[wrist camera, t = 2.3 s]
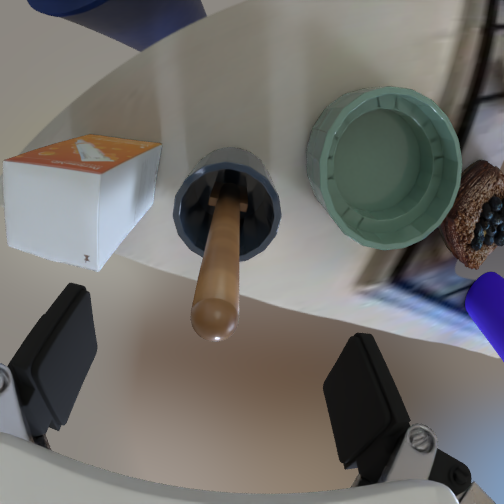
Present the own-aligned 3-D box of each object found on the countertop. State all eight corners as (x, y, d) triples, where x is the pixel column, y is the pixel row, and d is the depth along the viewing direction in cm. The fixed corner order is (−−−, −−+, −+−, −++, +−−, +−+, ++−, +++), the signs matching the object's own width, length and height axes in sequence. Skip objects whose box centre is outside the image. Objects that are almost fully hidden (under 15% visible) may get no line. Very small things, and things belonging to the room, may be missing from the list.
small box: (163, 142, 25) (103, 172, 13) (153, 205, 28) (100, 276, 16) (88, 132, 24) (0, 159, 12) (83, 192, 27) (6, 249, 15)
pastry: (424, 207, 29) (454, 228, 23) (484, 147, 25) (517, 158, 20) (454, 266, 32) (478, 290, 27) (507, 211, 29) (534, 228, 24)
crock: (198, 140, 25) (181, 153, 18) (278, 156, 26) (293, 175, 19) (186, 215, 28) (168, 253, 21) (260, 229, 29) (266, 271, 22)
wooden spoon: (216, 175, 26) (171, 306, 9) (248, 181, 26) (261, 321, 10) (212, 193, 27) (169, 343, 10) (244, 199, 27) (249, 357, 11)
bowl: (325, 68, 22) (345, 60, 17) (444, 121, 24) (476, 127, 19) (288, 209, 28) (298, 232, 24) (405, 237, 30) (429, 261, 25)
